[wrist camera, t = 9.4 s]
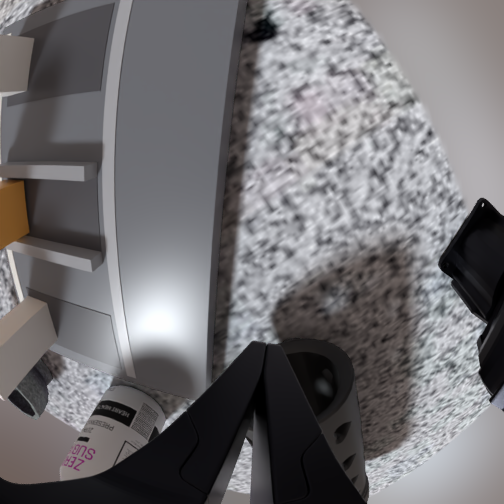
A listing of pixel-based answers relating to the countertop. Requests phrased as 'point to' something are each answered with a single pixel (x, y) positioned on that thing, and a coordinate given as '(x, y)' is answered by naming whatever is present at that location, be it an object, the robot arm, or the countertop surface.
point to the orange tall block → (12, 212)
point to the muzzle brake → (330, 402)
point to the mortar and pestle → (32, 391)
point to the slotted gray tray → (118, 185)
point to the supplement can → (113, 432)
